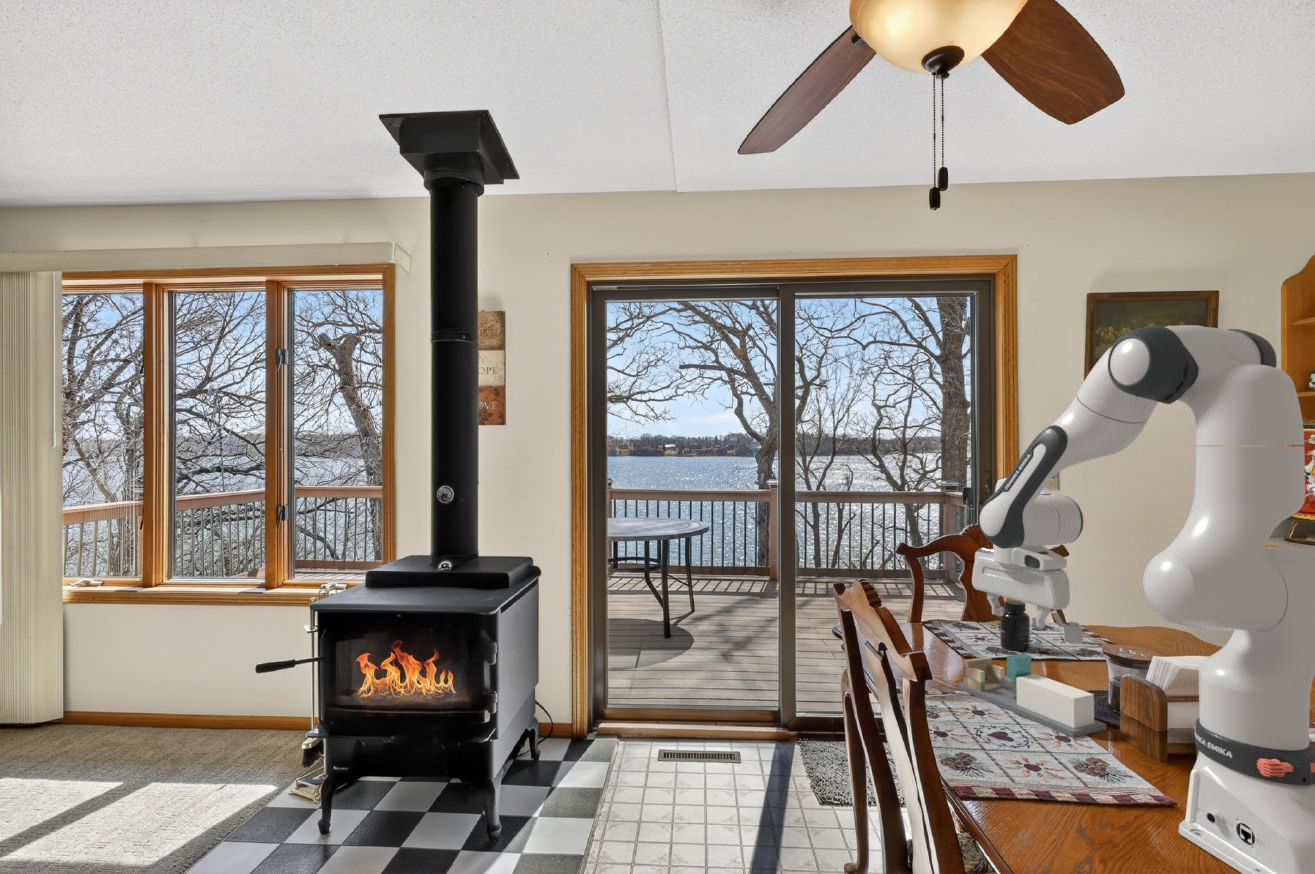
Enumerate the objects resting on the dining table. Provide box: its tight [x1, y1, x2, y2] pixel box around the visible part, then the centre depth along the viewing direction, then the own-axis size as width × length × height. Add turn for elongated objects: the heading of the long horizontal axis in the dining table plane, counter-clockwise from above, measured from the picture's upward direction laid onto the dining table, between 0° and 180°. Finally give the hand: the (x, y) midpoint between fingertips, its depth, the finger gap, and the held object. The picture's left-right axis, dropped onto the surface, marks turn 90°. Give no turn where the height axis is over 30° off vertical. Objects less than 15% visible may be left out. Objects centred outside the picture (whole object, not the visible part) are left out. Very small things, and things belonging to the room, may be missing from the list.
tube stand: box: [957, 673, 1107, 738], centre depth 133 cm, size 26×9×6 cm, turn 22°
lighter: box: [1050, 610, 1084, 644], centre depth 178 cm, size 7×2×8 cm, turn 63°
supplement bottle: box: [999, 599, 1031, 653], centre depth 172 cm, size 7×7×12 cm
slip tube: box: [1003, 652, 1032, 694], centre depth 130 cm, size 15×4×8 cm, turn 22°
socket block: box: [962, 656, 1006, 691], centre depth 143 cm, size 4×7×5 cm, turn 112°
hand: (1017, 620), depth 135 cm, fingers open, 8 cm apart
